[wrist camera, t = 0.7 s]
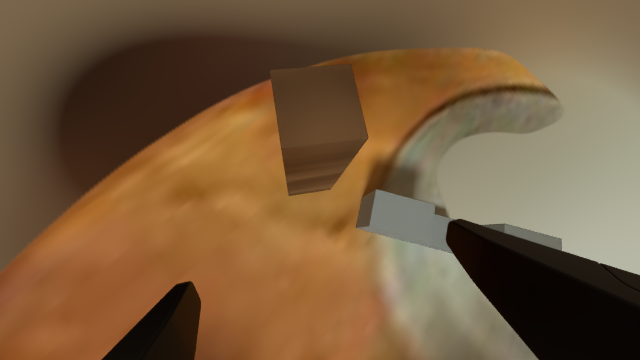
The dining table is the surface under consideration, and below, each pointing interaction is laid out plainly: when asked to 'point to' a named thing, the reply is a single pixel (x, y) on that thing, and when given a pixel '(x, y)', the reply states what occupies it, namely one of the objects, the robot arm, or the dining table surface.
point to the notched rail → (423, 222)
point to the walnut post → (317, 124)
